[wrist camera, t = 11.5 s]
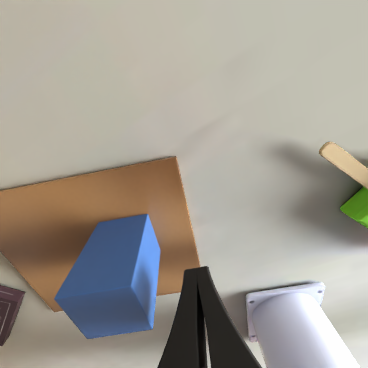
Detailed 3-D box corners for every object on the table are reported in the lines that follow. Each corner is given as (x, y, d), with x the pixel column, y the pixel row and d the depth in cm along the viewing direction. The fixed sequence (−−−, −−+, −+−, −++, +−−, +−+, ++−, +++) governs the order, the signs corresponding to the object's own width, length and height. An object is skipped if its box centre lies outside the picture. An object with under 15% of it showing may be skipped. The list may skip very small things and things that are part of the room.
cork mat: (204, 285, 19) (205, 288, 19) (55, 309, 20) (53, 312, 19) (176, 155, 13) (176, 157, 12) (-41, 198, 13) (-45, 200, 13)
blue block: (160, 250, 16) (153, 329, 11) (116, 257, 16) (86, 339, 11) (148, 212, 14) (131, 286, 9) (98, 222, 15) (52, 299, 9)
